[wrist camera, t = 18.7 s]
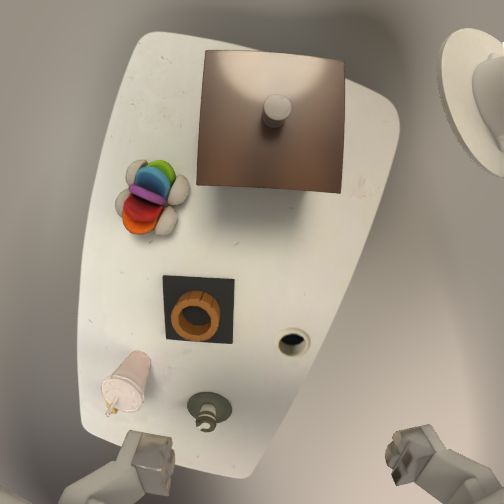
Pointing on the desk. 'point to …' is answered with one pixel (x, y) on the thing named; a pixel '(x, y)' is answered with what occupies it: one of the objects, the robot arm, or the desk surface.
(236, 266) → the desk surface
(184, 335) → the grooved wooden ring
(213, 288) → the mat
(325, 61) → the tape stand
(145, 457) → the robot arm
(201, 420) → the coffee cup
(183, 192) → the rainbow disc roller toy
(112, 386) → the smoothie
